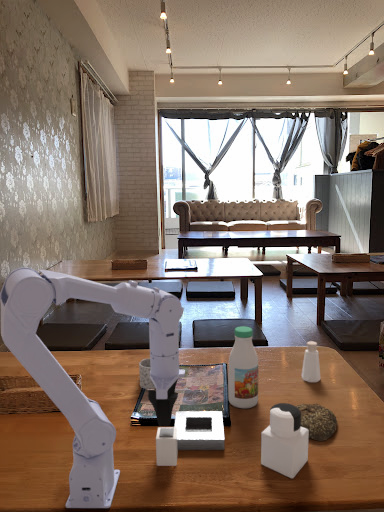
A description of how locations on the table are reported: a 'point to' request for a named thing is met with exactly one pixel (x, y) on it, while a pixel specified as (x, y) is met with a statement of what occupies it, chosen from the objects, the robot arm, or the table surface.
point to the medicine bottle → (284, 441)
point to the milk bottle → (243, 370)
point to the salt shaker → (311, 363)
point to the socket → (199, 430)
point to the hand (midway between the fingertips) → (166, 414)
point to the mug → (145, 374)
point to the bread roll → (317, 421)
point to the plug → (166, 446)
